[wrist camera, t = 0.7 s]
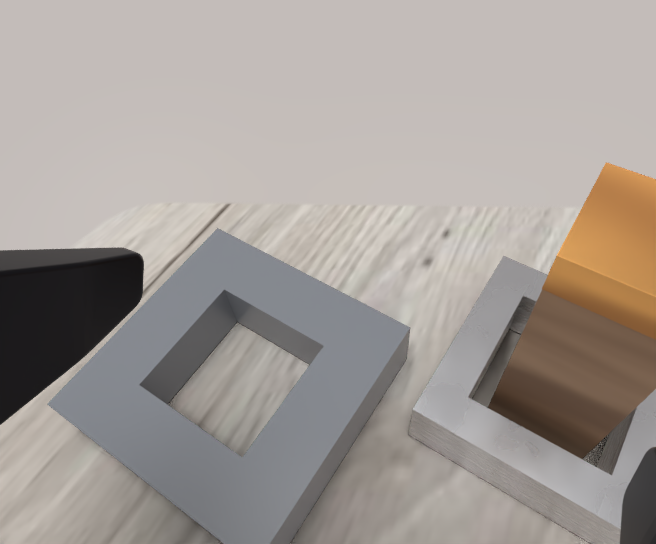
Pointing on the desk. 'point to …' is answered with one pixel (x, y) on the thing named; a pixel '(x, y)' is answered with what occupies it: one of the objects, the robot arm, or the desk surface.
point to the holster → (514, 440)
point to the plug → (590, 322)
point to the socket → (287, 422)
